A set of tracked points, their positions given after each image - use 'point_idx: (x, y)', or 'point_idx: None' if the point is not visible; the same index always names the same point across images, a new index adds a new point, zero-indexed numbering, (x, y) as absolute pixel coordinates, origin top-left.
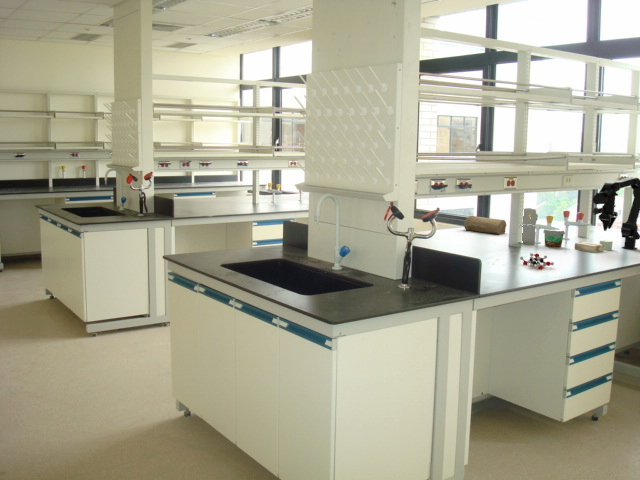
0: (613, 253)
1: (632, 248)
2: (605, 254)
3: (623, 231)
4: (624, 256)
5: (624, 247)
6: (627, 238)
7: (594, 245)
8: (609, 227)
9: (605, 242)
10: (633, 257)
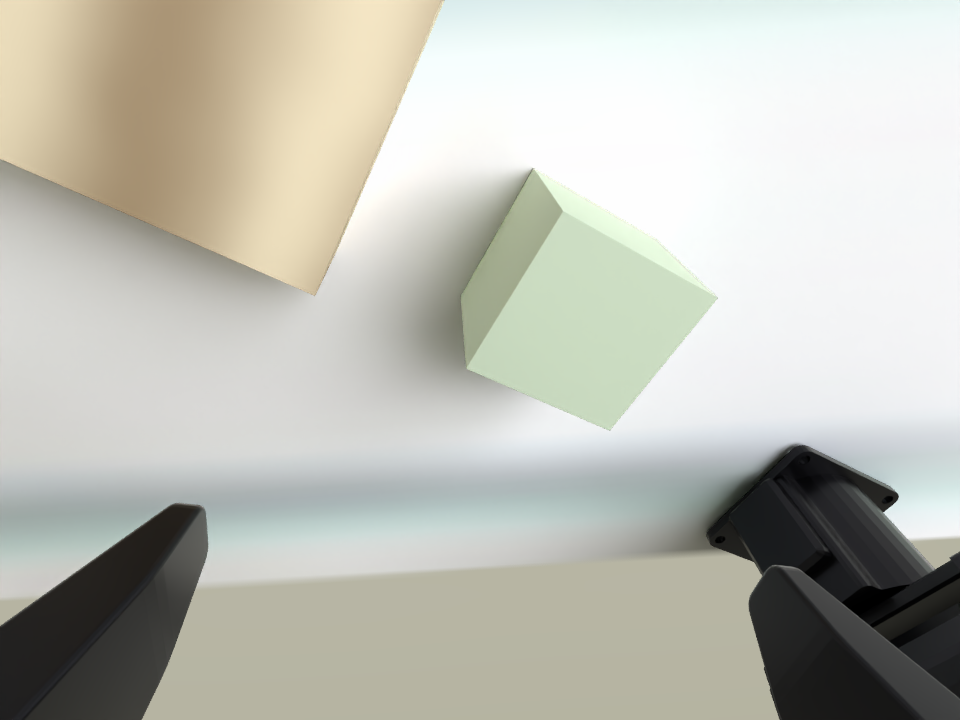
0: (222, 398)
1: (733, 546)
2: (2, 313)
3: (950, 686)
4: (98, 515)
5: (765, 480)
6: (853, 607)
7: (44, 120)
8: (779, 633)
9: (490, 323)
10: None
